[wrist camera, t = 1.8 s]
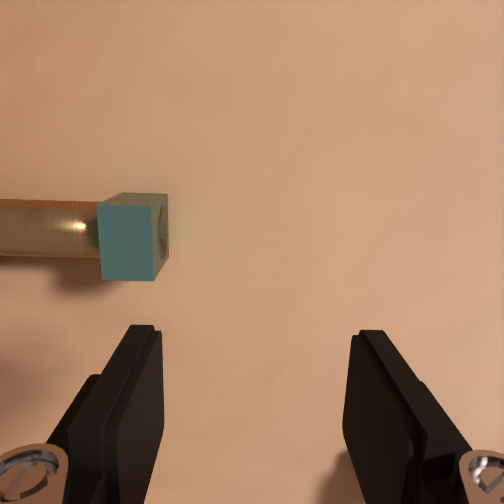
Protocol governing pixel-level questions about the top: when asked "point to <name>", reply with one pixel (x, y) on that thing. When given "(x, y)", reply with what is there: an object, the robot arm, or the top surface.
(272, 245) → the top surface
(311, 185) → the top surface
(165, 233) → the bronze piece
